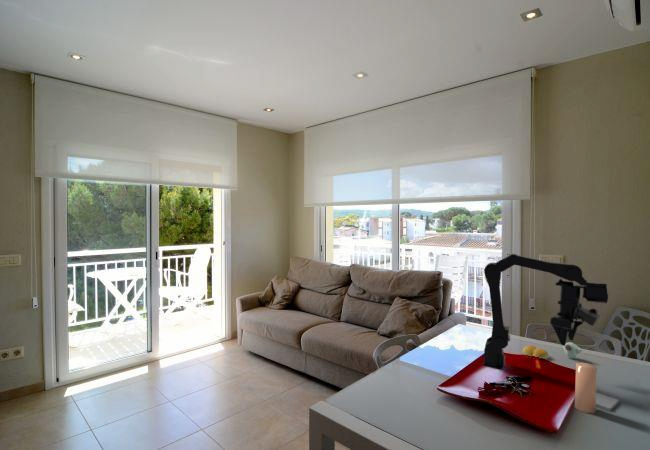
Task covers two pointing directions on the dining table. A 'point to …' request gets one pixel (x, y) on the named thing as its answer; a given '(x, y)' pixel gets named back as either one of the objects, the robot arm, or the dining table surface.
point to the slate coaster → (605, 402)
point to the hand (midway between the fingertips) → (567, 342)
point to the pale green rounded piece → (571, 349)
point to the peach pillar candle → (585, 387)
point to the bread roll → (535, 352)
